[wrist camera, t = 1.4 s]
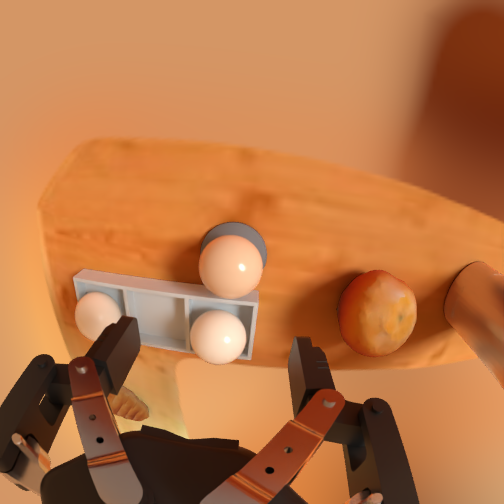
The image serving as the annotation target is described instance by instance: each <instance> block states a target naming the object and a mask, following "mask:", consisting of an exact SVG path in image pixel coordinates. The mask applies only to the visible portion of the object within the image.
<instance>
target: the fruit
mask: <svg viewBox="0 0 504 504" xmlns="http://www.w3.org/2000/svg"><path fill="white" fill-rule="evenodd" d="M416 308H417V305H416V300H415V295H414V292H413V290H411V289H410V288H409V287H408V286H407V284H406V283H405V282H404V281H402V280H399V279H397V278H396V277H394V276H392V275H391V274H389V273H388V272H386V271H383V270H373V271H369V272H367V273H365V274H362V275H359V276H358V277H356V278H355V279H354V280H353V281H352V282H351V283H350V284H349V286H348V287H347V288H346V289H345V290H344V291H343V292H342V295H341V297H340V300H339V304H338V308H337V315H338V321H339V326H340V331H341V335H342V337H343V339H344V341H345V342H346V343H347V345H349V346H350V347H351V348H352V349H353V350H354V351H356V352H358V353H359V354H362V355H364V356H369V357H378V356H385V355H388V354H390V353H392V352H394V351H396V350H397V349H398V348H399V347H400V346H402V345H403V344H404V343H405V342H406V340H407V339H408V337H409V335H410V334H411V333H412V331H413V329H414V325H415V323H416V321H417V315H416Z"/></svg>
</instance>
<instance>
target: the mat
mask: <svg viewBox="0 0 504 504" xmlns="http://www.w3.org/2000/svg"><path fill="white" fill-rule="evenodd" d="M224 235H237V236H241V237H243V238H246V239H247V240H249V241H250V242H252V243H253V244H254V245H255V247H256V248H257V249H258V251H259V253H260V255H261V258H262V263H263V268H264V266H265V264H266V259H267V252H266V246H265V243H264V240H263V239H262V237H261V236H260V234H259V233H258V232H257V231H256V230H255V229H253V228H252V227H250V226H248V225H246V224H243V223H239V222H227V223H223V224H220V225H218V226H216V227H214V228H213V229H212V230H211V231H210V232H209V233H208V234H207V235H206V237H205V239H204V240H203V243H202V246H201V252H200V254H201V253H202V251H203V250H204V248H205V247H206V246H207V245H208V244H209V243H210V242H211V241H212V240H214V239H216V238H218V237H220V236H224Z"/></svg>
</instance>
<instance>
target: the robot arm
mask: <svg viewBox="0 0 504 504" xmlns="http://www.w3.org/2000/svg"><path fill="white" fill-rule="evenodd" d="M444 314H445V318H446V320H447V321H448V323H449V324H450V325H451V326H452V327H453V328H454V329H455V330H456V331H457V332H458V334H459V335H460V336H461V337H462V338H463V339H464V341H465V342H466V343H467V344H468V345H469V346H470V348H471V349H472V350H473V351H474V352H475V353H476V355H477V356H478V357H479V358H480V359H481V361H482V362H483V363H484V364H485V366H486V367H487V368H488V369H489V371H490V372H491V373H492V374H493V376H494V377H495V378H496V380H497V381H498V382H499V383H500V385H501V386H502V388H503V389H504V276H503V275H502V274H501V273H499V272H498V271H496V270H494V269H493V268H491V267H490V266H488V265H487V264H485V263H484V262H474V263H472V264H470V265H469V266H467V267H466V268H465V269H464V270H463V271H462V272H461V273H460V274H459V275H458V276H457V278H456V279H455V280H454V282H453V284H452V285H451V287H450V289H449V292H448V294H447V297H446V300H445V306H444ZM140 346H141V340H140V334H139V328H138V321H137V318H135V317H130V316H124V315H122V316H121V317H120V319H119V320H118V322H117V323H112V324H110V325H108V326H107V327H105V329H104V330H103V331H102V333H101V335H99V337H98V338H97V340H96V341H95V342H94V344H93V345H92V347H91V348H90V349H89V351H88V352H87V354H86V355H85V356H83V357H77V358H75V359H73V360H72V361H71V362H70V363H69V364H55V361H54V359H53V358H52V357H51V356H50V355H47V354H42V355H38V356H36V357H35V358H34V359H33V360H32V361H31V362H30V364H29V365H28V367H27V368H26V369H25V371H24V372H23V374H22V375H21V376H20V378H19V379H18V381H17V382H16V384H15V385H14V387H13V388H12V389H11V391H10V393H9V394H8V396H7V397H6V399H5V400H4V402H3V404H2V405H1V407H0V473H1V474H2V475H3V476H4V477H5V478H7V479H8V480H9V481H10V482H12V483H14V484H15V485H16V486H18V487H19V488H21V489H22V490H25V491H32V492H34V493H35V494H37V495H39V496H41V500H42V504H308V503H307V502H306V501H305V500H304V499H302V498H301V497H300V496H299V495H298V494H297V493H296V492H295V491H294V490H293V489H292V488H291V487H290V485H291V484H292V482H293V481H294V480H295V479H296V478H297V476H298V475H299V474H300V473H301V471H302V470H303V469H304V467H305V466H306V465H307V463H308V462H309V461H310V459H311V458H312V457H313V455H314V454H315V453H316V451H317V450H318V449H319V447H320V446H321V444H322V443H323V441H329V442H335V443H339V444H342V445H343V451H344V458H345V465H346V472H347V479H348V486H349V495H350V499H349V500H348V501H346V502H345V503H344V504H419V500H418V496H417V492H416V488H415V484H414V481H413V477H412V473H411V470H410V466H409V463H408V459H407V456H406V453H405V450H404V446H403V443H402V440H401V437H400V434H399V431H398V428H397V425H396V422H395V419H394V416H393V414H392V410H391V408H390V406H389V405H388V403H387V402H386V401H384V400H382V399H379V398H370V399H368V400H366V401H365V402H364V404H359V403H353V402H349V401H346V400H345V399H344V397H343V396H342V394H341V393H339V392H338V391H336V389H335V386H334V382H333V379H332V376H331V372H330V369H329V366H328V363H327V359H326V356H325V353H324V352H323V351H322V350H321V349H320V348H319V347H312V343H311V339H310V337H298V336H295V337H294V340H293V344H292V348H291V352H290V356H289V361H288V373H289V380H290V389H291V397H292V405H293V412H294V420H293V421H292V420H290V421H288V422H287V424H286V425H285V426H284V427H283V428H282V429H281V430H280V431H279V432H278V433H277V434H276V435H275V436H274V437H273V438H272V440H271V441H270V442H269V443H268V444H267V445H266V446H265V447H264V448H263V449H262V450H261V451H260V452H259V453H258V454H256V453H254V452H252V451H250V450H248V449H245V448H243V447H239V440H230V439H219V438H207V439H186V438H183V437H181V436H178V435H176V434H173V433H171V432H169V431H166V430H163V429H159V428H154V427H150V426H146V425H142V428H141V431H130V432H125V433H122V434H121V432H120V430H119V427H118V425H117V422H116V420H115V417H114V415H113V412H112V409H111V407H110V404H109V401H108V396H109V394H114V395H118V393H119V391H120V389H121V387H122V385H123V383H124V381H125V379H126V377H127V375H128V373H129V371H130V369H131V367H132V365H133V363H134V361H135V359H136V357H137V355H138V353H139V351H140ZM44 394H45V396H44ZM43 396H44V398H43V400H42V401H41V399H42V397H43ZM40 401H41V403H40ZM39 404H40V405H39ZM70 405H72V407H73V411H74V415H75V420H76V424H77V428H78V431H79V435H80V438H81V442H82V445H83V448H84V452H85V453H84V454H82V455H80V456H78V457H76V458H74V459H72V460H70V461H68V462H65V463H63V464H61V465H59V466H57V467H55V468H53V469H51V467H50V464H51V461H50V457H49V455H48V452H49V450H50V448H51V446H52V443H53V441H54V439H55V436H56V434H57V432H58V430H59V427H60V426H61V423H62V421H63V419H64V417H65V415H66V413H67V411H68V409H69V407H70Z"/></svg>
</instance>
